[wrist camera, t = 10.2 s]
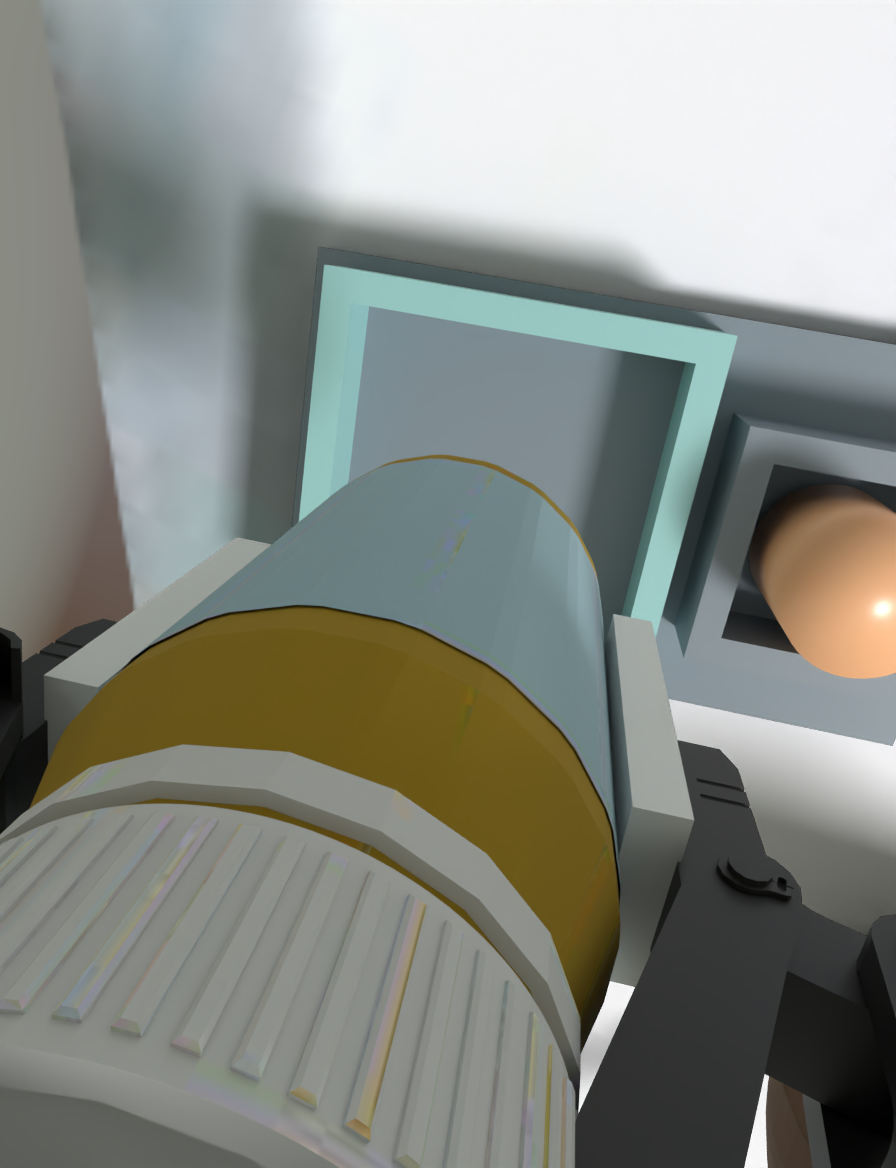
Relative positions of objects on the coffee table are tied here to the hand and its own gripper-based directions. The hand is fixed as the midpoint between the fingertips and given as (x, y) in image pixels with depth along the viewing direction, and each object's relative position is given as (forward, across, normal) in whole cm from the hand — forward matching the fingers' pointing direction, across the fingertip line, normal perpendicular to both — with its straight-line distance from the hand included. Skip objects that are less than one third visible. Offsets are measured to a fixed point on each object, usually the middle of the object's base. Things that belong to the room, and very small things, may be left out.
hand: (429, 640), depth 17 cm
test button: (+14, +11, 0) cm, 18 cm away
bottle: (+3, 0, 0) cm, 3 cm away
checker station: (+16, +4, 0) cm, 16 cm away
